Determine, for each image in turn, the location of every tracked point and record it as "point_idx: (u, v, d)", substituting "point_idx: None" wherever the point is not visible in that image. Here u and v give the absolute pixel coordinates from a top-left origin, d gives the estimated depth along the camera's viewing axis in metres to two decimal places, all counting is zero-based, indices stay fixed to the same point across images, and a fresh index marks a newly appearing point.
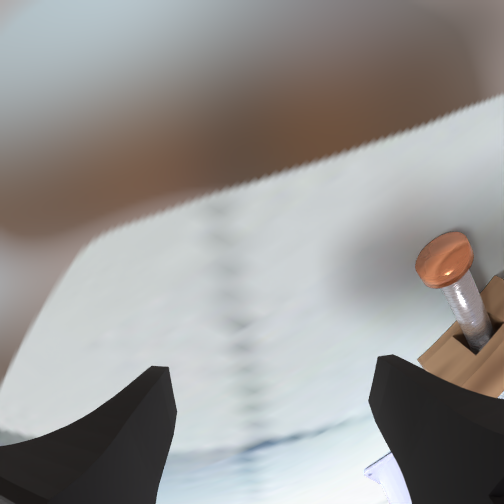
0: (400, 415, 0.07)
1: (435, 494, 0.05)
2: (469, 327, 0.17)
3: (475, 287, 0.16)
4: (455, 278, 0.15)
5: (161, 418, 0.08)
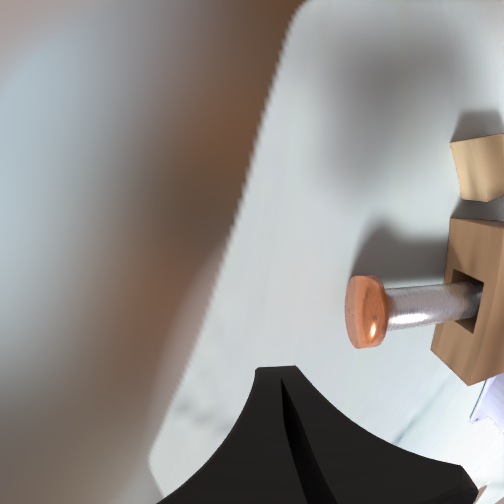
0: (287, 433, 0.07)
1: None
2: (446, 321, 0.15)
3: (420, 300, 0.15)
4: (380, 338, 0.14)
5: None
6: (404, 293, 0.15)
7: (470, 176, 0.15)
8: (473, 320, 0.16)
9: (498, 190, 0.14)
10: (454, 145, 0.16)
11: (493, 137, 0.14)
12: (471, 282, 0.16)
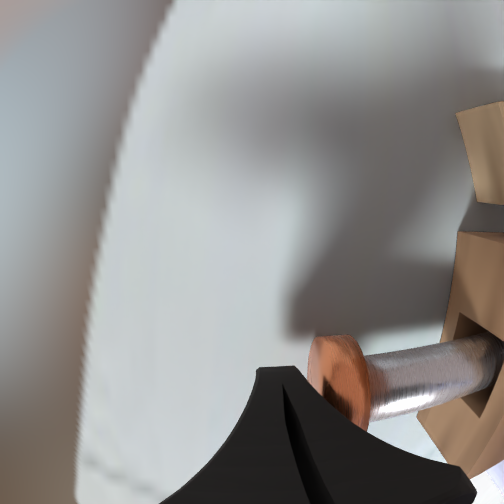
0: None
1: None
2: None
3: (428, 376, 0.08)
4: None
5: None
6: (403, 366, 0.08)
7: (491, 165, 0.09)
8: None
9: None
10: (463, 117, 0.09)
11: None
12: None
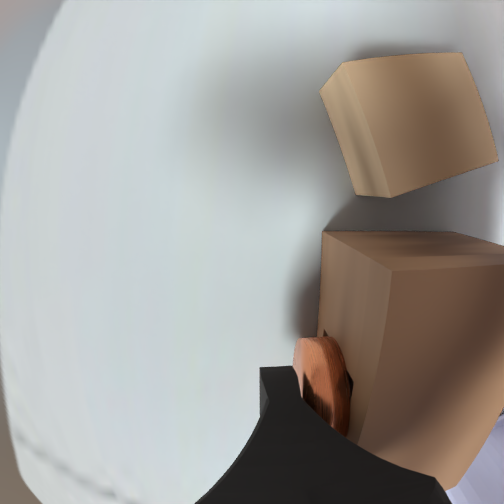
0: None
1: None
2: None
3: None
4: None
5: None
6: None
7: (356, 146, 0.09)
8: None
9: (425, 168, 0.07)
10: (324, 93, 0.09)
11: (401, 58, 0.07)
12: None
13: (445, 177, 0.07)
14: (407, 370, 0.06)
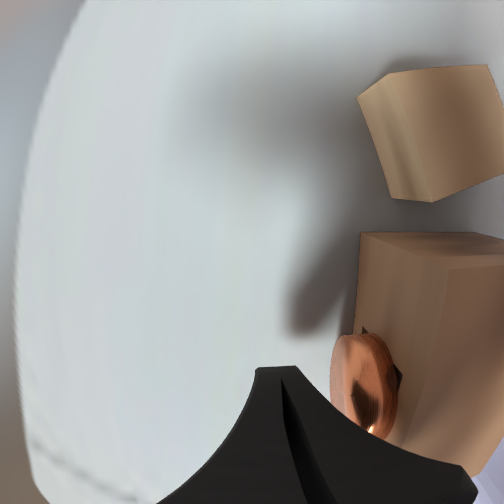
0: (287, 433, 0.07)
1: None
2: None
3: None
4: None
5: None
6: None
7: (396, 153, 0.09)
8: None
9: (460, 174, 0.08)
10: (363, 100, 0.09)
11: (437, 70, 0.07)
12: None
13: (476, 183, 0.08)
14: (454, 359, 0.06)
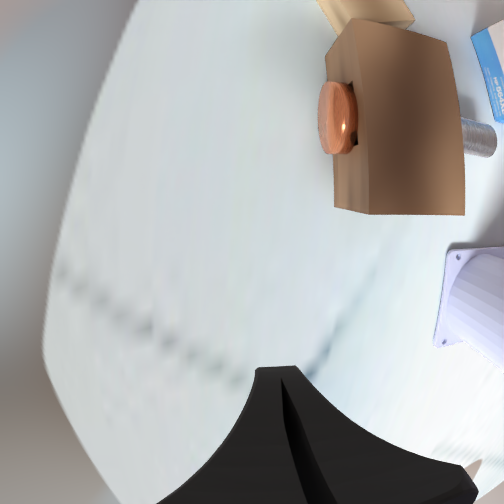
0: (287, 433, 0.07)
1: None
2: None
3: None
4: (353, 125, 0.13)
5: None
6: None
7: (337, 15, 0.14)
8: None
9: (370, 16, 0.13)
10: (319, 0, 0.15)
11: None
12: None
13: (382, 21, 0.13)
14: (373, 58, 0.11)
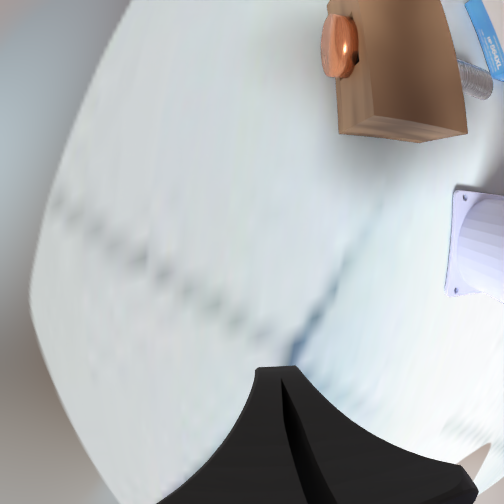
0: (287, 433, 0.07)
1: None
2: None
3: None
4: (354, 44, 0.12)
5: None
6: None
7: None
8: None
9: None
10: None
11: None
12: None
13: None
14: None
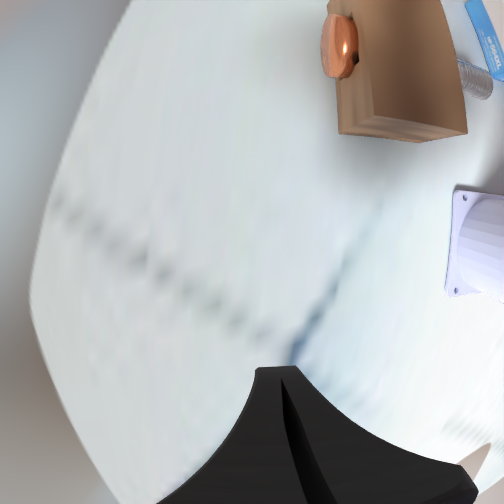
0: (287, 433, 0.07)
1: None
2: None
3: None
4: (354, 44, 0.12)
5: None
6: None
7: None
8: None
9: None
10: None
11: None
12: None
13: None
14: None
